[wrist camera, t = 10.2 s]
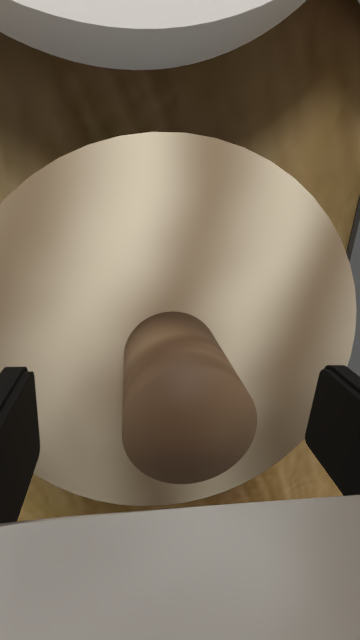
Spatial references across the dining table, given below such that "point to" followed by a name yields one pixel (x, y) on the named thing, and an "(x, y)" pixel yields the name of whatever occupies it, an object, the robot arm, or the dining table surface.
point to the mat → (356, 254)
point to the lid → (169, 314)
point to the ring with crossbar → (140, 29)
